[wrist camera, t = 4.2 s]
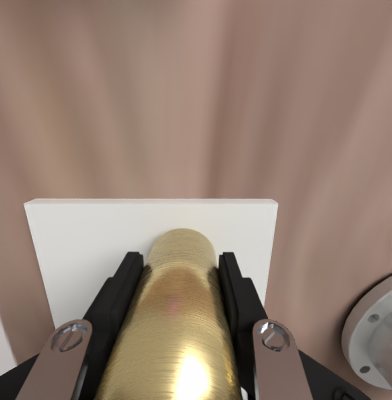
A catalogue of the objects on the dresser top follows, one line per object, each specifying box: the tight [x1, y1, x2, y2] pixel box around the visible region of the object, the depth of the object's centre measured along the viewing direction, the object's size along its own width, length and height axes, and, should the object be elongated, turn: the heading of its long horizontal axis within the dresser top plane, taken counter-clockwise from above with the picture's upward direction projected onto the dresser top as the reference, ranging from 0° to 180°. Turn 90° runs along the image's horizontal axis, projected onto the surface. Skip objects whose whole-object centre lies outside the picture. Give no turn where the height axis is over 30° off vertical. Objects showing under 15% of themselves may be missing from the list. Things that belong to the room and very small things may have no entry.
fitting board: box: [24, 199, 278, 400], centre depth 15 cm, size 15×28×4 cm, turn 179°
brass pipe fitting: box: [93, 228, 243, 400], centre depth 8 cm, size 4×4×9 cm
